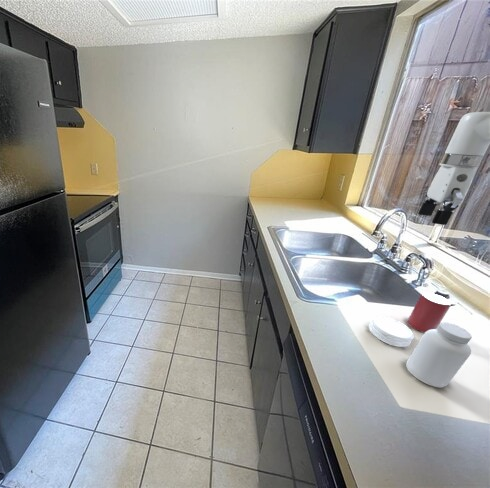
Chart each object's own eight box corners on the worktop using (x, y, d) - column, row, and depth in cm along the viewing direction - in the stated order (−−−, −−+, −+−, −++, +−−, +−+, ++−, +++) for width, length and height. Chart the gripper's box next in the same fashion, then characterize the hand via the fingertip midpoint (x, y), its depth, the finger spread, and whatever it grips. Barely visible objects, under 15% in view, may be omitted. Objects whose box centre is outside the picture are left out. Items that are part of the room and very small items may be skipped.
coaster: (415, 352, 72) (421, 343, 71) (373, 341, 76) (378, 332, 74) (401, 329, 81) (406, 320, 80) (364, 320, 84) (368, 311, 83)
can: (428, 323, 84) (445, 295, 80) (438, 336, 79) (456, 307, 74) (403, 317, 87) (418, 290, 82) (411, 329, 81) (427, 301, 77)
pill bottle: (437, 393, 61) (471, 346, 55) (398, 367, 68) (424, 322, 61) (453, 382, 64) (487, 336, 58) (415, 358, 71) (441, 314, 64)
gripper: (498, 166, 63) (462, 230, 71) (460, 160, 78) (433, 214, 85) (458, 163, 66) (427, 225, 73) (429, 157, 81) (405, 210, 88)
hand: (431, 219), depth 79 cm, fingers open, 9 cm apart
